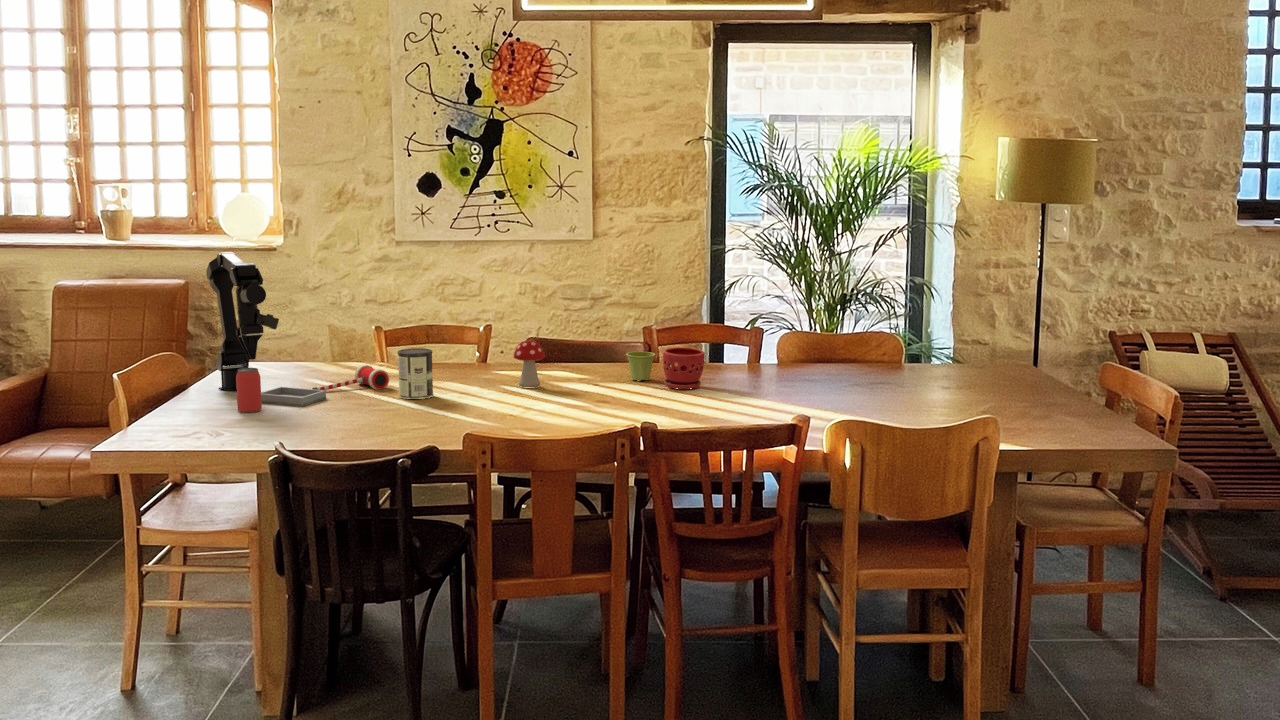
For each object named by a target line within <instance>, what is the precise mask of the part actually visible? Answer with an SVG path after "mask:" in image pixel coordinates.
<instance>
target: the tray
mask: <svg viewBox="0 0 1280 720" xmlns="http://www.w3.org/2000/svg"><path fill="white" fill-rule="evenodd" d="M323 400H327V390H314V389H312V388H311V389H310V388H302V387H288V386H277V387H275V388H272V389H268V390H265V391H261V402H262V404H273V405H274V404H275V405H284V406H293V407H294V406H295V407H304V406H308V405H310V404H311V405H312V404H313V403H317V402H321V401H323Z"/></svg>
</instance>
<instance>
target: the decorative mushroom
mask: <svg viewBox="0 0 1280 720" xmlns="http://www.w3.org/2000/svg"><path fill="white" fill-rule="evenodd" d="M513 359H515V360H518V361H523V365H522V369H521V374H520V379H519V381H518V385H519V387H520V386H522V387H538V386H539V387H540V385H541V380H540V379H539V376H538V371H537V370H538V369H537V366H536V361H540V360H543V359H546V354H545V351H544V349H543V347H542V346H541V344H540V343H539V342H537V341H536V340H533V339H527V340H526V339H525V340H523V341H521V342H520V343H518V345H517V346H516V347H515V351H514V353H513Z"/></svg>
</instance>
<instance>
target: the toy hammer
mask: <svg viewBox="0 0 1280 720" xmlns="http://www.w3.org/2000/svg"><path fill="white" fill-rule="evenodd" d="M389 383H390V376H389V373H388V372H387V371H386V370H384V369H381V368H378V369H375V368H373V366H371V365H367V364H362V365H360V366H358V367H357V369H356V370H355V374H354V379H350V380H346V381H341V382H336V383H333V384H329V385H323V386H319V387H317V386H315V387H312V388H311V389H314V390H325V391H329V390H332V389H333V390H334V389H337V388H341V387H345V386H346V387H347V386H350V385H354V384H358V385H359V384H360V385H362V386H363V385H366V386H369V387H370V388H372V389H373V390H382V389H381V388H384V389H386V388H387V386H389Z"/></svg>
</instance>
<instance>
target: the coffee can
mask: <svg viewBox="0 0 1280 720" xmlns="http://www.w3.org/2000/svg"><path fill="white" fill-rule="evenodd" d="M397 358H398V359H397V362H398V363H397V364H398V389H399V391H398V392H399V393H398V397H400V398H399V399H401V398H402V399H401V400H406V399H422V400H425V399H424V398H428V399H430V398H429V397H432V396H433V397H434V390H433V389H434V387H433V386H434V385H433V381H434V380H433V378H434V377H433V350H432V349H429V348H420V347H419V348H418V347H417V348H415V347H414V348H404V349H400V350H397ZM433 397H432V398H433Z"/></svg>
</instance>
